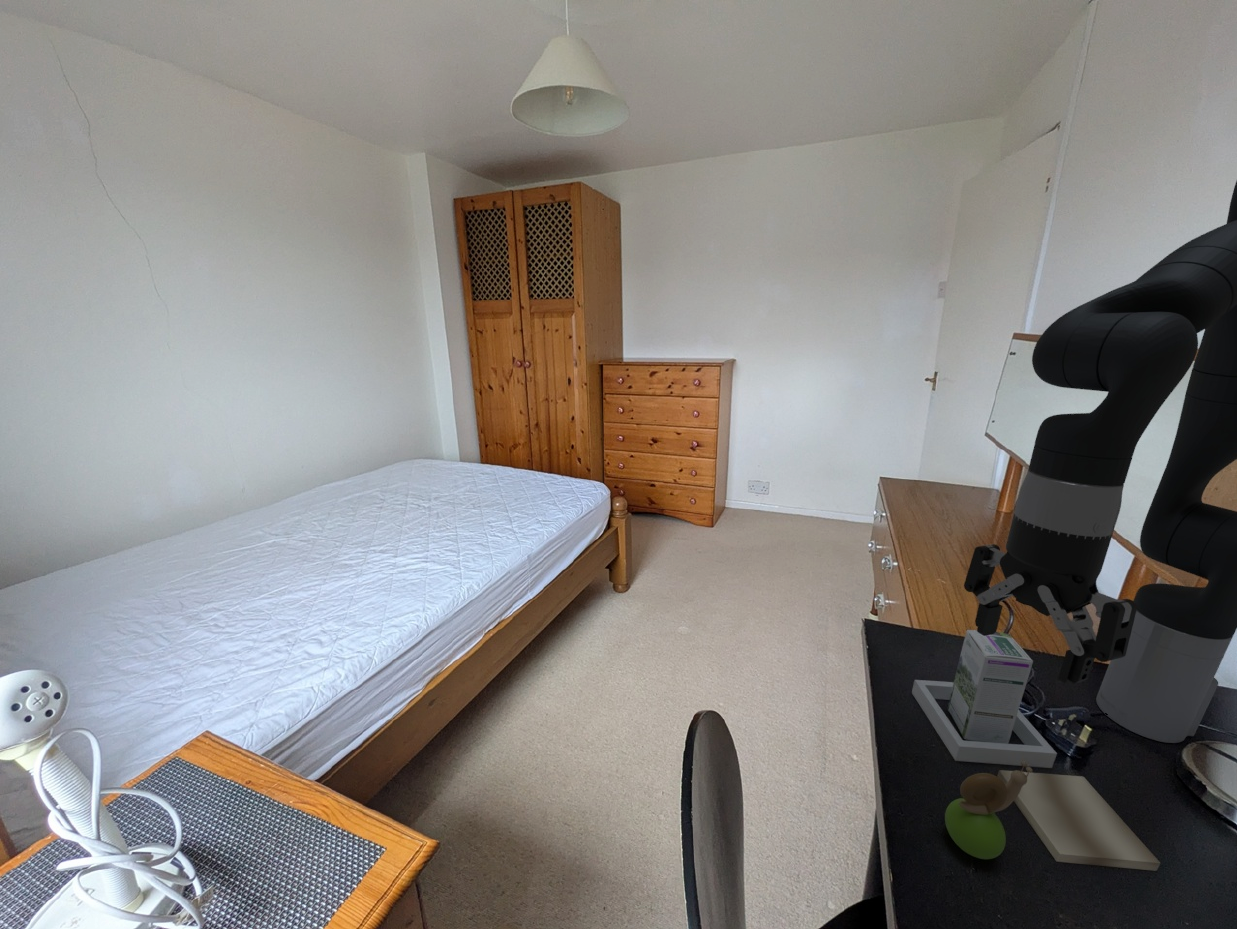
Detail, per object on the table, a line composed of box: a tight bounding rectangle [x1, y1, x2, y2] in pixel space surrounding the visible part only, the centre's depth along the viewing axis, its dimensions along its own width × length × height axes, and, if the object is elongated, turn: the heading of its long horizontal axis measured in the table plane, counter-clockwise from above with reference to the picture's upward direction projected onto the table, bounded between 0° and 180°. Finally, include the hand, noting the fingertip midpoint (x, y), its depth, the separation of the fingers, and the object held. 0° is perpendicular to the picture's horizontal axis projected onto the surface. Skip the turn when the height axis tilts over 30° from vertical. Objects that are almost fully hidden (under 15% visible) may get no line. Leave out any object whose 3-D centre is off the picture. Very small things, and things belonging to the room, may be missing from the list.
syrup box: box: [946, 629, 1034, 744], centre depth 67 cm, size 6×6×14 cm
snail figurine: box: [944, 761, 1033, 860], centre depth 52 cm, size 5×6×12 cm
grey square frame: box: [911, 679, 1058, 769], centre depth 69 cm, size 12×12×2 cm
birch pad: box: [996, 769, 1161, 872], centre depth 57 cm, size 10×10×1 cm
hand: (1023, 655), depth 53 cm, fingers open, 8 cm apart
